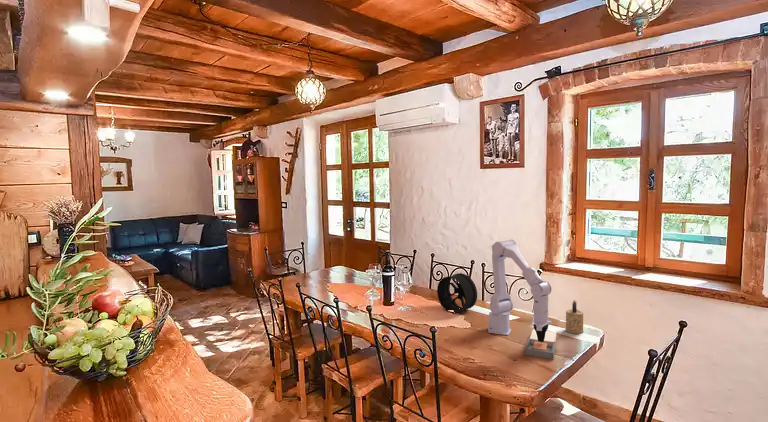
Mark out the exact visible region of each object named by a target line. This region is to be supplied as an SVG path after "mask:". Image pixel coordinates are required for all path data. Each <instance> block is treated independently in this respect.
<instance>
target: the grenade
mask: <svg viewBox="0 0 768 422" xmlns="http://www.w3.org/2000/svg"><path fill="white" fill-rule="evenodd" d="M571 304H572V305H571V306H572V308H571V309H568V310H566V311H565V330H566V332H567V333H569V334H575V335H579V334H582V333H584V312H583V311H581V310H579V309H577V304H578V302H577V301H576V300H575V299H573V301H572V303H571Z"/></svg>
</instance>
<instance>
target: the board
mask: <svg viewBox="0 0 768 422" xmlns="http://www.w3.org/2000/svg"><path fill="white" fill-rule="evenodd" d="M557 336H558V335H557V331H551V330H547V331H546V333H545V339H544V342H542V343H547V346H550V347H552V346H553V342H554V341H555V342H556V341H557ZM529 338H530V344H534V343H535V342H538V338H537V334H536V331H535V329H534V328H533V329H532V331H531V334H530V337H529ZM556 343H557V342H556Z"/></svg>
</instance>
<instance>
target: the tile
mask: <svg viewBox="0 0 768 422" xmlns="http://www.w3.org/2000/svg"><path fill="white" fill-rule="evenodd" d="M533 349H536V350H542V351H547V343H542V342H535V343H534V346H533Z"/></svg>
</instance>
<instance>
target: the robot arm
mask: <svg viewBox="0 0 768 422" xmlns="http://www.w3.org/2000/svg"><path fill="white" fill-rule="evenodd" d="M491 251H492V253H491V263H492V276H493V288H494V293H493V294H492V295H491V297H490V302H489V309H490V312H489V313H488V317H487V318H488V319H487V321H488V326H487V327H488V328H487V329H488V331H487V332H488V333H490V334H498V335H504V336H509V335H510V333H511V331H512V328H510V314H511V311H512V310H513V309H514V305H513V304H514V303H513V301H512V296H511V294H509V293H508V292H507V279H506V268H505V260H506V258H508V259H511V260H513V262H514V263H515V264H516V266H518V267H519V269H520V270H521V273H522V274H521V276H522V277H523V278H524V280H525V281H526V283H527V284H528V285H529V286H530V293H531V295H532V299H533V320H532V321H533V323H534V324H533V329H535V331H536V334H537V338H538V342H544V339H545V333H546V331H548V329H549V325H551V324H552V320H549V295H550V294H551V292H552V286H551V284H550V283H549V281H546V280H545V279H542V277H541V276H540V275H539V273H538V272H537V269H535V268H534V267H532V266H529V264H528V263H527V261H526V258H524V257H523V255H522V253H521V252H520V249H519V245H518V244H517V242H516V241H515V240H514V239H508V240H500V241H495V242H494V243H493V244H492V245H491Z"/></svg>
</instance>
